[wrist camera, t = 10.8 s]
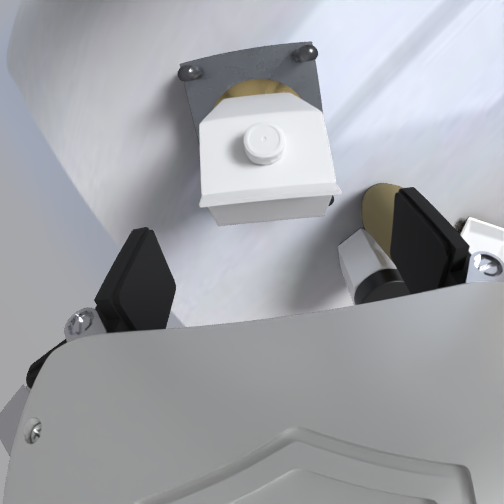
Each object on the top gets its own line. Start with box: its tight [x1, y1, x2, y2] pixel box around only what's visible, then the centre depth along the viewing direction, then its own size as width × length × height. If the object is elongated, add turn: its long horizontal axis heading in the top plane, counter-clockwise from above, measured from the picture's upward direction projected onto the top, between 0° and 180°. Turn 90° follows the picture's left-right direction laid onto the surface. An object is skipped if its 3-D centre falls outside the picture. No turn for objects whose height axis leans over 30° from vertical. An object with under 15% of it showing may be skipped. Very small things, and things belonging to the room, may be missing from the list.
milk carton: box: [199, 93, 341, 226], centre depth 22 cm, size 7×7×19 cm
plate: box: [460, 217, 504, 263], centre depth 45 cm, size 19×19×2 cm
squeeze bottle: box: [362, 183, 402, 262], centre depth 32 cm, size 8×8×18 cm
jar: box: [338, 228, 411, 305], centre depth 39 cm, size 9×8×12 cm
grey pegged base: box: [178, 42, 334, 206], centre depth 30 cm, size 18×14×9 cm
